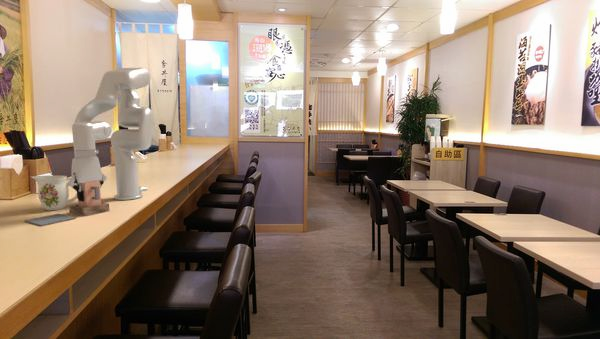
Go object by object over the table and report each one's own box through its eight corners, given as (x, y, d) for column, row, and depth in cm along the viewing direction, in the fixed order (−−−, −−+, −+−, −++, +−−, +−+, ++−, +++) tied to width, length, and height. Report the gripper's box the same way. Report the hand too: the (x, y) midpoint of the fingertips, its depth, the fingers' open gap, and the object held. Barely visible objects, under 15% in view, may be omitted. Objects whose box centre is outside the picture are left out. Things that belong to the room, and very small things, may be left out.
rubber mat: (58, 214, 160) (58, 213, 160) (75, 218, 154) (75, 217, 154) (24, 221, 150) (24, 220, 150) (41, 226, 144) (41, 224, 144)
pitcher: (77, 210, 168) (74, 176, 166) (28, 212, 165) (24, 178, 163) (85, 204, 179) (82, 173, 177) (39, 206, 175) (36, 174, 173)
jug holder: (94, 207, 172) (94, 200, 171) (109, 210, 166) (109, 203, 166) (69, 213, 163) (68, 205, 163) (84, 216, 158) (83, 208, 157)
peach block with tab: (93, 206, 169) (90, 180, 168) (106, 209, 164) (103, 181, 163) (78, 209, 164) (76, 182, 163) (91, 212, 159) (89, 184, 158)
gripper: (100, 151, 171) (104, 194, 174) (57, 156, 157) (62, 202, 159) (111, 152, 167) (114, 196, 170) (68, 157, 153) (73, 204, 155)
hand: (89, 198), depth 165 cm, fingers closed on peach block with tab, 6 cm apart
